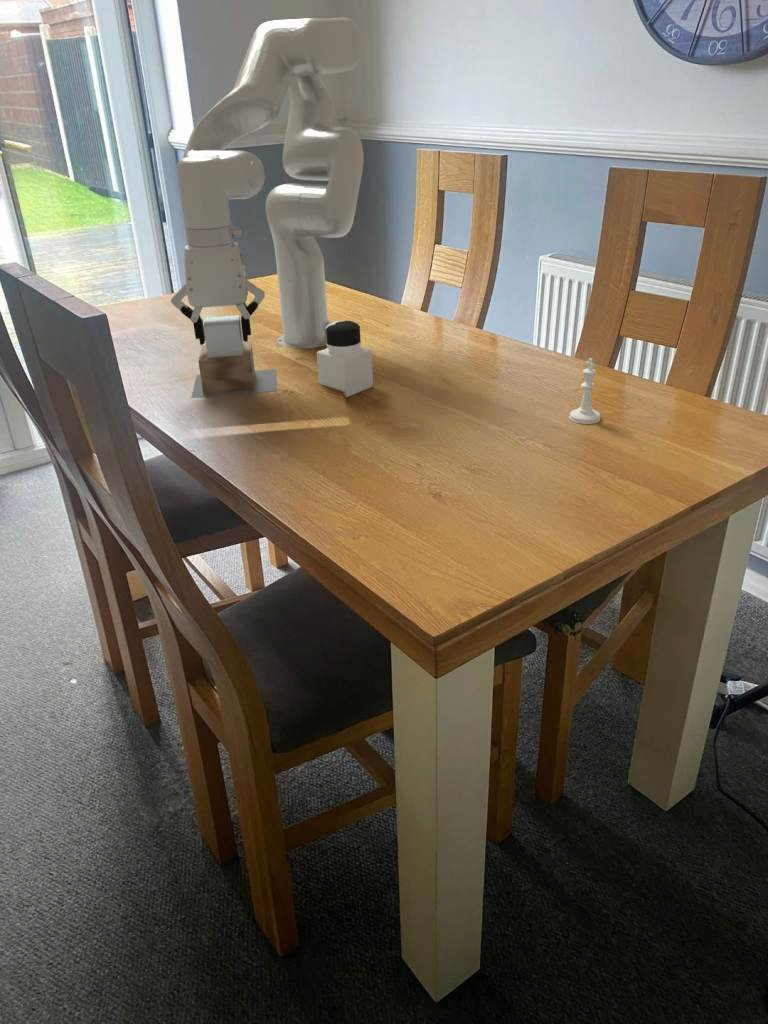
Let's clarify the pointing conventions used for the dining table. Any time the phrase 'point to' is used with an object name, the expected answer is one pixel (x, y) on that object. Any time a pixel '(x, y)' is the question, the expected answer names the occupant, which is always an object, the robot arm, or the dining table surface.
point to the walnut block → (227, 371)
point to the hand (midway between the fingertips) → (224, 340)
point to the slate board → (263, 383)
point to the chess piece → (586, 399)
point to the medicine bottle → (345, 359)
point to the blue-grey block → (223, 336)
